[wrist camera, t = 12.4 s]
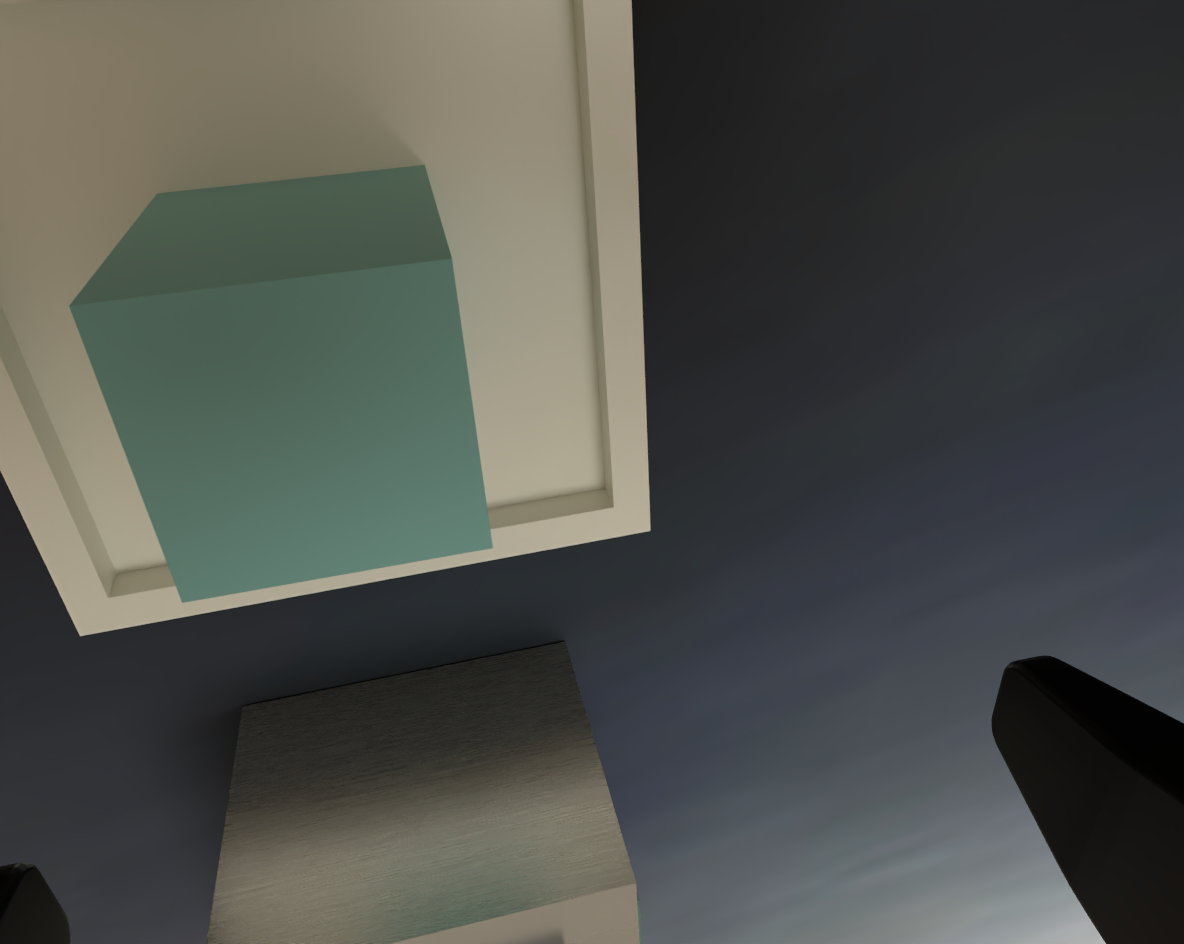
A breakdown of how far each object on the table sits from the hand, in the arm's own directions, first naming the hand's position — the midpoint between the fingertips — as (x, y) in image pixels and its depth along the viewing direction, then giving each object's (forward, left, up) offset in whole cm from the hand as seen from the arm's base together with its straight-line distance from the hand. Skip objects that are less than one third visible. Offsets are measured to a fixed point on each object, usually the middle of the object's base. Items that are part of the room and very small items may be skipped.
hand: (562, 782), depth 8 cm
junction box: (+2, +14, -12) cm, 18 cm away
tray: (+2, -1, -12) cm, 12 cm away
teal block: (+2, -1, -11) cm, 11 cm away
